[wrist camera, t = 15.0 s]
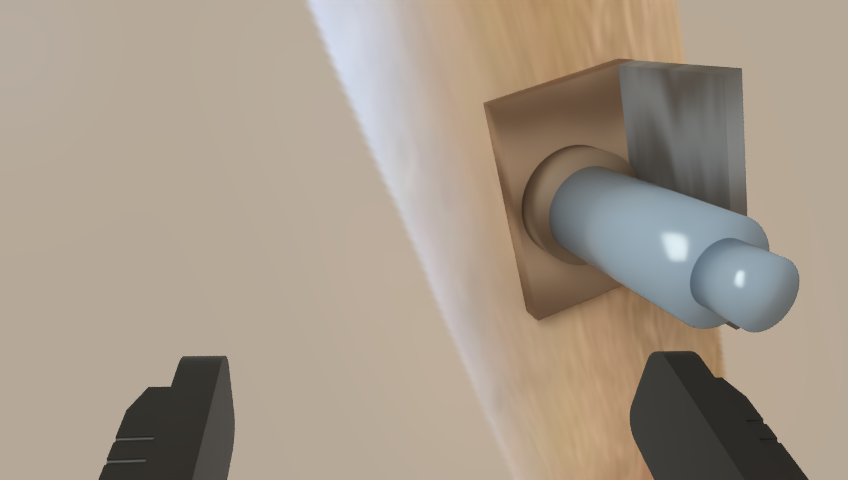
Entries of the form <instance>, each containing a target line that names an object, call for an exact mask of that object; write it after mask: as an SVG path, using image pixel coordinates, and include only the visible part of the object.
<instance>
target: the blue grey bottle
mask: <svg viewBox="0 0 848 480" xmlns="http://www.w3.org/2000/svg"><path fill="white" fill-rule="evenodd" d="M549 225H550V229H551V233H552V235H553V237H554V239H555V240H556V242H557V243H558V244H559V245H560V246H561V247H562V248H564V249H565V250H567V251H569V252H570V253H572V254H574V255H575V256H577V257H578V258H580V259H582V260H583V261H585V262H587V263H588V264H590V265H591V266H593V267H595V268H596V269H598V270H600V271H601V272H603V273H604V274H606V275H608V276H609V277H611V278H613V279H614V280H616V281H617V282H619V283H621V284H622V285H624V286H626V287H627V288H629V289H630V290H632V291H634V292H635V293H637V294H639V295H640V296H642V297H643V298H645V299H647V300H648V301H650V302H652V303H653V304H655V305H657V306H658V307H660V308H661V309H663V310H665V311H666V312H668V313H670V314H671V315H673V316H674V317H676V318H678V319H679V320H681V321H683V322H684V323H686V324H687V325H689V326H692V327H695V328H701V329H707V328H713V327H717V326H720V325H723V324H725V323H727V322H729V321H730V322H731V323H733V324H735V325H737V326H739V327H740V328H742V329H744V330H746V331H748V332H761V331H764V330H767V329H769V328H771V327H773V326H774V325H776V324H777V323H778V322H779V321H781V320H782V319H783V318H784V316H785V315H786V314H787V313H788V311H789V310H790V308H791V307H792V305H793V303H794V301H795V299H796V296H797V293H798V289H799V274H798V270H797V268H796V266H795V265H794V263H793V262H792V261H790V260H789V259H787V258H784V257H782V256H779V255H776V254H774V253H772V252H769V244H768V239H767V236H766V234H765V232H764V230H763V229H762V227H761V226H760V225H759V224H758V223H757V222H756V221H754V220H753V219H751V218H749V217H747V216H744V215H741V214H738V213H735V212H732V211H729V210H726V209H724V208H721V207H718V206H715V205H712V204H709V203H706V202H703V201H701V200H698V199H695V198H692V197H689V196H686V195H683V194H681V193H678V192H675V191H672V190H669V189H666V188H663V187H660V186H658V185H655V184H652V183H649V182H646V181H643V180H640V179H637V178H635V177H632V176H629V175H626V174H623V173H620V172H617V171H615V170H612V169H609V168H606V167H602V166H590V167H586V168H583V169H580V170H578V171H576V172H575V173H573V174H572V175H570V176H569V177H568V178H567V179H566V180H565V181H564V182H563V183H562V184H561V186H560V187H559V188H558V190H557V191H556V193H555V195H554V197H553V200H552V203H551V206H550V212H549Z"/></svg>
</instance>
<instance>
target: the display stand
mask: <svg viewBox="0 0 848 480" xmlns="http://www.w3.org/2000/svg"><path fill="white" fill-rule="evenodd" d="M484 108H485V113H486V117H487V122H488V127H489V132H490V137H491V141H492V146H493V151H494V156H495V161H496V165H497V170H498V175H499V180H500V185H501V189H502V194H503V199H504V204H505V209H506V213H507V218H508V223H509V228H510V233H511V237H512V242H513V247H514V252H515V257H516V262H517V266H518V271H519V276H520V281H521V286H522V290H523V295H524V300H525V305H526V310H527V312H529V313H530V314H531V315H532V316H533V317H534V318H535V319H537V320H541V319H543V318H545V317H548V316H550V315H552V314H555V313H557V312H560V311H562V310H564V309H567V308H569V307H571V306H574V305H576V304H578V303H581V302H583V301H586V300H588V299H590V298H593V297H595V296H597V295H600V294H602V293H605V292H607V291H609V290H612V289H614V288H616V287H619V286H621V285H622V284H621V283H619V282H617V281H616V280H614V279H613V278H611V277H609V276H608V275H606V274H604V273H603V272H601V271H600V270H598V269H596V268H595V267H593V266H591V265H590V264H588V263H587V262H585V261H583V260H582V259H580V258H578V257H577V256H575V255H574V254H572V253H570V252H569V251H567V250H565V249H564V248H562V247H561V246H560V245H559V244H558V243H557V242H556V240H555V239H554V237H553V235H552V233H551V229H550V225H549V212H550V206H551V203H552V200H553V197H554V195H555V193H556V191H557V190H558V188H559V187H560V186H561V184H562V183H563V182H564V181H565V180H566V179H567V178H568V177H569V176H570V175H572V174H573V173H575V172H576V171H578V170H580V169H583V168H586V167H590V166H602V167H606V168H609V169H612V170H615V171H617V172H620V173H623V174H626V175H629V176H632V177H635V178H637V179H640V180H643V181H646V182H649V183H652V184H655V185H658V186H660V187H663V188H666V189H669V190H672V191H675V192H678V193H681V194H683V195H686V196H689V197H692V198H695V199H698V200H701V201H703V202H706V203H709V204H712V205H715V206H718V207H721V208H724V209H726V210H729V211H732V212H735V213H738V214H741V215H744V216H747V199H746V171H745V144H744V120H743V119H744V117H743V91H742V69H741V68H729V67H715V66H701V65H689V64H675V63H662V62H648V61H634V60H629V59H616V60H613V61H610V62H607V63H604V64H601V65H598V66H595V67H592V68H589V69H586V70H583V71H579V72H576V73H573V74H570V75H567V76H564V77H561V78H558V79H555V80H552V81H549V82H546V83H543V84H540V85H537V86H534V87H531V88H528V89H525V90H522V91H519V92H516V93H513V94H510V95H507V96H504V97H501V98H497V99H494V100H491V101H488V102H485V103H484ZM725 324H727V325H729V326H731V327H733V328H734V329H736V330H737V329H739V328H740V327H739V326H737V325H735V324H733V323H731V322H730V321H729V322H727V323H725Z"/></svg>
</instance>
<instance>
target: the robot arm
mask: <svg viewBox="0 0 848 480" xmlns="http://www.w3.org/2000/svg"><path fill="white" fill-rule="evenodd" d="M234 426H235V419H234V409H233V399H232V390H231V382H230V373H229V364H228V359H227V357H226V356H184V357H182V358H181V360H180V362H179V364H178V367H177V370H176V373H175V376H174V379H173V382H172V385H171V387H148V388H147V389H146V390H145V391H144V392H143V394H142V395H141V396H140V397H139V398H138V399H137V400H136V401H135V402H134V403H133V404H132V405H131V406H130V407H129V408H128V409H127V410H126V413H125V415H124V418H123V420H122V423H121V425H120V428H119V430H118V433H117V435H116V442H114V443H113V445H112V448H111V450H110V453H109V455H108V457H107V464H106V465H104V467H103V470H102V473H101V475H100V477H99V480H227V477H228V472H229V467H230V461H231V456H232V451H233V443H234V430H235V427H234ZM630 426H631V431H632V434H633V437H634V440H635V442H636V444H637V446H638V448H639V450H640V452H641V454H642V456H643V458H644V460H645V462H646V464H647V466H648V468H649V470H650V472H651V474H652V476H653V478H654V480H808V478H807V477H806V476H805V474H804V473H803V472H802V470H801V469H800V468H799V466H798V465H797V464H796V462H795V461H794V460H793V458H792V457H791V456H790V454H789V453H788V452H787V451H786V449H785V448H784V446H783V445H782V444H781V443H778V442H777V437H776V436H775V434H774V433H773V432H772V430H771V429H770V428H769V426H768V425H767V424H764V423H763V418H762V417H761V416H760V414H759V413H758V412H757V410H756V409H755V408H754V407H753V405H752V404H751V402H750V401H749V400H748V399H747V397H746V396H744V395H743V394H742V393H741V392H739V391H738V390H737V389H736V388H734V387H733V386H732V385H731V384H729V383H728V382H727V381H725V380H724V379H723V378H722V377H721V378H715V377H714V376H713V374H712V373H711V371H710V370H709V369H708V367H707V366H706V365H705V363H704V362H703V360H702V359H701V358H700V356H699V355H698V354H696V353H695V352H692V351H663V352H653V353H652V354H651V355H650V356H649V358H648V360H647V363H646V366H645V369H644V371H643V374H642V377H641V380H640V383H639V386H638V388H637V391H636V394H635V397H634V400H633V402H632V405H631V410H630Z"/></svg>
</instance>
